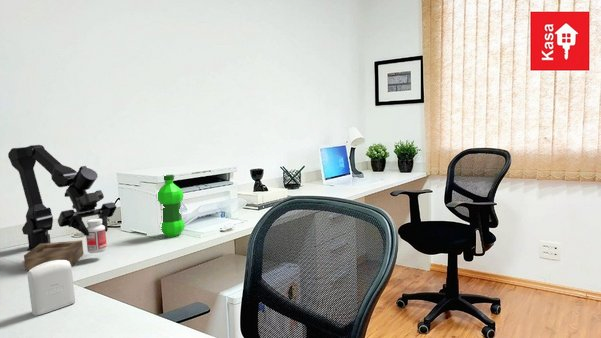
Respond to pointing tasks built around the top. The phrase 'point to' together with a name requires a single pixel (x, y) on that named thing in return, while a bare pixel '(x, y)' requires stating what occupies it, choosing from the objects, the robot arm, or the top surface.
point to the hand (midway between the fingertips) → (97, 233)
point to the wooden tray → (54, 253)
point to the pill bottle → (96, 236)
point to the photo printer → (51, 286)
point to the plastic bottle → (171, 207)
